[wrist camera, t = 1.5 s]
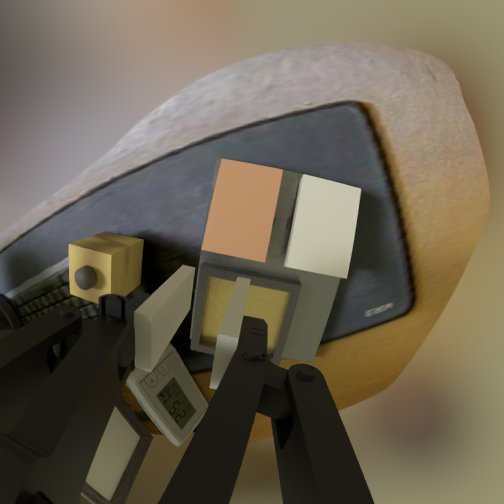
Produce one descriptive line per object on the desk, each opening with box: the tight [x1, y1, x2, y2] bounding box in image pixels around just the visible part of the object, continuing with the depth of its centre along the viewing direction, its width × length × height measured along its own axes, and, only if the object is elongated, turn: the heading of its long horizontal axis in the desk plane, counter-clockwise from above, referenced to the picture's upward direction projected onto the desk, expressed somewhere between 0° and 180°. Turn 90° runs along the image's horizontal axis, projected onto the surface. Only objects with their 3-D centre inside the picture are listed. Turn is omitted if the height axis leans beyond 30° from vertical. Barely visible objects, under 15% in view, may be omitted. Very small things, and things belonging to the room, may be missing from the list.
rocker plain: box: [284, 174, 361, 279], centre depth 27 cm, size 6×9×2 cm, turn 169°
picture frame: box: [81, 394, 153, 504], centre depth 30 cm, size 16×2×21 cm, turn 19°
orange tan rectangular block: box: [201, 159, 283, 263], centre depth 27 cm, size 6×9×2 cm, turn 169°
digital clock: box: [126, 342, 209, 447], centre depth 33 cm, size 14×8×9 cm, turn 9°
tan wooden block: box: [69, 232, 144, 304], centre depth 29 cm, size 6×6×9 cm
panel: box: [190, 158, 362, 366], centre depth 31 cm, size 16×22×4 cm
